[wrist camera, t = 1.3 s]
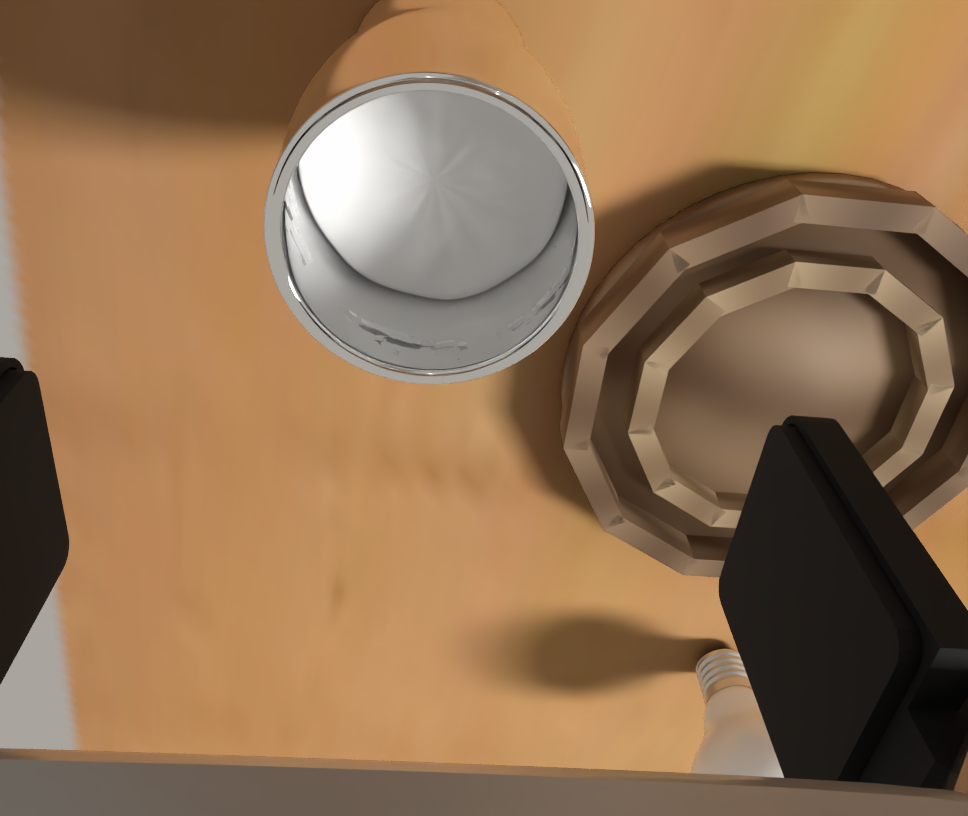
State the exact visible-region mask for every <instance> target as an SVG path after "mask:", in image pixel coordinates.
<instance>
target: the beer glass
mask: <svg viewBox="0 0 968 816" xmlns="http://www.w3.org/2000/svg"><path fill="white" fill-rule="evenodd" d="M264 239H265V247H266V252H267V257H268V262H269V266H270V269H271V272H272V275H273V277H274V280H275V283H276V285H277V287H278V289H279V291H280V294H281V295H282V297H283V299H284V301H285V303H286V304H287V306H288V307H289V309H290V310H291V312H292V313H293V315H294V316H295V317H296V319H297V320H298V321H299V322H300V324H301V325H302V326H303V327H304V328H305V329H306V330H307V331H308V332H309V333H310V334H311V336H313V337H314V338H315V339H316V340H317V341H318V342H319V343H320V344H321V345H323V346H324V347H325V348H327V349H328V350H329V351H330V352H332V353H333V354H335V355H336V356H338V357H339V358H341V359H343V360H344V361H346V362H348V363H350V364H352V365H353V366H355V367H358V368H360V369H362V370H364V371H366V372H369V373H372V374H374V375H377V376H380V377H384V378H387V379H391V380H395V381H400V382H406V383H414V384H429V385H436V384H452V383H460V382H465V381H470V380H475V379H479V378H482V377H485V376H488V375H491V374H494V373H497V372H499V371H501V370H504V369H506V368H508V367H510V366H512V365H514V364H516V363H517V362H519V361H521V360H522V359H524V358H525V357H527V356H529V355H530V354H531V353H533V352H534V351H535V350H537V349H538V348H539V347H540V346H542V345H543V344H544V343H545V342H546V341H547V340H548V339H549V338H550V337H551V336H552V335H553V334H554V333H555V332H556V331H557V330H558V329H559V328H560V326H561V325H562V324H563V323H564V321H565V320H566V319H567V317H568V316H569V314H570V313H571V311H572V310H573V308H574V307H575V305H576V303H577V301H578V299H579V297H580V295H581V293H582V291H583V289H584V286H585V284H586V281H587V278H588V275H589V271H590V268H591V263H592V259H593V253H594V245H595V218H594V209H593V203H592V198H591V194H590V190H589V187H588V182H587V175H586V169H585V164H584V158H583V153H582V149H581V145H580V142H579V138H578V135H577V132H576V128H575V125H574V122H573V119H572V116H571V114H570V111H569V109H568V107H567V105H566V103H565V101H564V99H563V97H562V95H561V93H560V92H559V90H558V88H557V87H556V85H555V83H554V81H553V80H552V78H551V76H550V75H549V73H548V72H547V71H546V69H545V68H544V67H543V65H542V64H541V63H540V62H539V60H538V59H537V58H536V57H535V56H534V55H533V54H532V53H531V52H530V51H529V50H528V49H527V48H526V46H525V42H524V39H523V37H522V34H521V32H520V30H519V28H518V26H517V25H516V23H515V21H514V20H513V18H512V17H511V15H510V14H509V13H508V12H507V10H506V9H505V8H504V7H503V6H502V5H501V4H500V3H499V2H498V1H497V0H379V1H378V2H377V3H376V4H375V5H374V6H373V7H372V8H371V9H370V11H369V12H368V13H367V15H366V16H365V18H364V20H363V21H362V23H361V25H360V27H359V29H358V31H357V34H355V35H354V36H352V37H351V38H350V39H348V40H347V41H346V42H344V43H343V44H342V45H341V46H340V47H339V48H338V49H337V50H336V51H335V52H334V53H333V54H332V55H331V56H330V57H329V58H328V59H327V61H326V62H325V63H324V64H323V66H322V67H321V68H320V70H319V71H318V72H317V73H316V75H315V76H314V77H313V79H312V80H311V82H310V83H309V85H308V86H307V88H306V89H305V91H304V93H303V95H302V97H301V99H300V101H299V103H298V105H297V107H296V109H295V112H294V114H293V116H292V118H291V121H290V123H289V126H288V128H287V131H286V134H285V137H284V141H283V144H282V148H281V151H280V155H279V158H278V162H277V164H276V167H275V169H274V172H273V174H272V177H271V180H270V184H269V187H268V192H267V196H266V202H265V210H264Z"/></svg>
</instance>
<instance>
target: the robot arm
mask: <svg viewBox="0 0 968 816" xmlns="http://www.w3.org/2000/svg"><path fill="white" fill-rule="evenodd" d="M68 551H69V536H68V531H67V525H66V520H65V515H64V510H63V505H62V500H61V494H60V489H59V484H58V479H57V474H56V469H55V463H54V458H53V453H52V448H51V443H50V437H49V432H48V427H47V422H46V417H45V412H44V406H43V401H42V396H41V391H40V386H39V382H38V378H37V376H36V375H35V373H33V372H32V371H24V369H23V366H22V365H21V363H20V361H18V360H17V359H15V358H4V357H0V684H1V682H2V680H3V679H4V677H5V675H6V673H7V671H8V669H9V667H10V666H11V664H12V662H13V660H14V658H15V656H16V655H17V653H18V651H19V649H20V647H21V646H22V644H23V642H24V640H25V638H26V636H27V634H28V633H29V631H30V628H31V627H32V625H33V623H34V622H35V620H36V618H37V616H38V614H39V612H40V610H41V609H42V607H43V605H44V603H45V601H46V599H47V598H48V596H49V594H50V592H51V590H52V588H53V587H54V585H55V583H56V581H57V579H58V577H59V575H60V574H61V572H62V570H63V568H64V566H65V563H66V560H67V557H68ZM719 597H720V601H721V605H722V607H723V610H724V613H725V616H726V618H727V621H728V624H729V627H730V630H731V632H732V635H733V638H734V641H735V643H736V646H737V649H738V652H739V654H740V657H741V660H742V663H743V665H744V668H745V671H746V674H747V676H748V679H749V682H750V685H751V687H752V690H753V693H754V696H755V698H756V701H757V704H758V707H759V710H760V712H761V715H762V718H763V721H764V723H765V726H766V729H767V732H768V734H769V737H770V740H771V743H772V745H773V748H774V751H775V754H776V756H777V759H778V762H779V765H780V767H781V770H782V773H783V776H784V778H778V777H761V776H745V775H721V774H698V773H675V772H651V771H628V770H604V769H581V768H558V767H534V766H508V765H482V764H456V763H430V762H403V761H376V760H348V759H321V758H293V757H266V756H235V755H204V754H172V753H141V752H109V751H78V750H46V749H4V748H3V749H1V748H0V816H968V610H967V609H966V607H965V606H964V605H963V603H962V602H961V600H960V599H959V597H958V596H957V594H956V593H955V591H954V590H953V589H952V587H951V586H950V584H949V583H948V581H947V580H946V578H945V577H944V575H943V574H942V573H941V571H940V570H939V568H938V567H937V565H936V564H935V562H934V561H933V559H932V558H931V556H930V555H929V554H928V552H927V551H926V549H925V548H924V546H923V545H922V543H921V542H920V540H919V539H918V538H917V536H916V535H915V533H914V532H913V530H912V529H911V527H910V526H909V524H908V523H907V521H906V520H905V519H904V517H903V516H902V514H901V513H900V511H899V510H898V508H897V507H896V505H895V504H894V503H893V501H892V500H891V498H890V497H889V495H888V494H887V492H886V491H885V489H884V488H883V486H882V485H881V484H880V482H879V481H878V479H877V478H876V476H875V475H874V473H873V472H872V470H871V469H870V468H869V466H868V465H867V463H866V462H865V460H864V459H863V457H862V456H861V454H860V453H859V451H858V450H857V449H856V447H855V446H854V444H853V443H852V441H851V440H850V438H849V437H848V435H847V434H846V433H845V431H844V430H843V428H842V427H841V425H840V424H839V423H838V422H837V421H836V420H835V419H832V418H822V417H809V416H795V415H791V416H789V417H787V418H786V419H785V421H784V422H783V424H782V425H774V426H772V428H771V429H770V430H769V433H768V435H767V438H766V440H765V443H764V446H763V449H762V452H761V455H760V458H759V461H758V464H757V467H756V470H755V473H754V476H753V479H752V482H751V485H750V488H749V491H748V494H747V497H746V500H745V503H744V506H743V509H742V512H741V515H740V518H739V521H738V524H737V527H736V530H735V533H734V536H733V539H732V542H731V544H730V547H729V550H728V553H727V556H726V559H725V562H724V565H723V568H722V571H721V575H720V579H719Z"/></svg>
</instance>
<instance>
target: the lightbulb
mask: <svg viewBox="0 0 968 816" xmlns="http://www.w3.org/2000/svg"><path fill="white" fill-rule="evenodd" d="M696 673H697V677H698V680H699V684H700V686H701V691H702V693H703V698H704V702H705V705H706V707H705V711H704V737H703V739H702V741H701V744H700V746H699V748H698V750H697V753H696V755H695V758H694V761H693V764H692V769H691V773H698V774H721V775H745V776H761V777H778V778H784V776H783V773H782V770H781V767H780V765H779V762H778V759H777V756H776V754H775V751H774V748H773V745H772V743H771V740H770V737H769V734H768V732H767V729H766V726H765V723H764V721H763V718H762V715H761V712H760V710H759V707H758V704H757V701H756V698H755V696H754V693H753V690H752V687H751V685H750V682H749V679H748V676H747V674H746V671H745V668H744V665H743V663H742V660H741V657H740V654H739V652H738V651H736V650H732V649H718V650H714V651H712V652H709V653H707V654H706V655H704V656H703V657H702V658H701V659H700V660H699V661H698V663H697V665H696Z"/></svg>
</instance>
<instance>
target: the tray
mask: <svg viewBox="0 0 968 816" xmlns="http://www.w3.org/2000/svg"><path fill="white" fill-rule="evenodd" d="M561 401H562V415H561V421H560V426H559V427H560V433H561V438H562V444H563V449H564V451H565V453H566V455H567V457H568V459H569V461H570V463H571V465H572V467H573V469H574V471H575V473H576V475H577V477H578V479H579V481H580V483H581V485H582V488H583V490H584V492H585V494H586V496H587V498H588V500H589V502H590V504H591V506H592V508H593V510H594V512H595V514H596V516H597V518H598V520H599V522H600V524H601V526H602V528H603V530H605V531H607V532H608V533H610V534H612V535H614V536H615V537H617V538H619V539H621V540H622V541H624V542H626V543H628V544H629V545H631V546H633V547H635V548H636V549H638V550H640V551H642V552H643V553H645V554H647V555H649V556H651V557H652V558H654V559H656V560H658V561H659V562H661V563H663V564H665V565H666V566H668V567H670V568H672V569H673V570H675V571H677V572H679V573H680V574H682V575H690V576H707V577H720V575H721V571H722V568H723V565H724V562H725V559H726V556H727V553H728V550H729V547H730V544H731V542H732V539H733V536H734V533H735V530H736V527H737V524H738V521H739V518H740V515H741V512H742V509H743V506H744V503H745V500H746V497H747V494H748V491H749V488H750V485H751V482H752V479H753V476H754V473H755V470H756V467H757V464H758V461H759V458H760V455H761V452H762V449H763V446H764V443H765V440H766V438H767V435H768V433H769V430H770V429H771V428H772V426H774V425H782V424H783V422H784V421H785V419H786V418H787V417H789V416H791V415H795V416H809V417H822V418H832V419H835V420H836V421H837V422H838V423H839V424H840V425H841V427H842V428H843V430H844V431H845V433H846V434H847V435H848V437H849V438H850V440H851V441H852V443H853V444H854V446H855V447H856V449H857V450H858V451H859V453H860V454H861V456H862V457H863V459H864V460H865V462H866V463H867V465H868V466H869V468H870V469H871V470H872V472H873V473H874V475H875V476H876V478H877V479H878V481H879V482H880V484H881V485H882V486H883V488H884V489H885V491H886V492H887V494H888V495H889V497H890V498H891V500H892V501H893V503H894V504H895V505H896V507H897V508H898V510H899V511H900V513H901V514H902V516H903V517H904V519H905V520H906V521H907V523H908V524H909V526H910V527H911V529H912V530H913V529H914V528H916V527H917V526H918V525H920V524H921V523H922V522H923V521H925V520H926V519H927V518H928V517H930V516H931V515H932V514H934V513H935V512H936V511H937V510H939V509H940V508H941V507H942V506H944V505H945V504H946V503H948V502H949V501H950V500H951V499H953V498H954V497H955V496H957V495H958V494H959V493H960V492H962V491H963V490H964V489H965V488H967V487H968V235H967V234H966V233H965V232H964V231H963V230H962V229H961V228H960V227H959V226H958V225H957V224H955V223H954V222H953V221H951V220H950V219H949V218H948V217H946V216H945V215H944V214H943V213H942V212H941V211H939V210H938V209H937V208H936V207H935V206H934V205H933V204H931V203H930V202H929V201H927V200H926V199H925V198H923V197H922V196H921V195H919V194H918V193H917V192H915V191H905V190H903V189H901V188H899V187H896V186H893V185H890V184H887V183H884V182H881V181H878V180H874V179H871V178H865V177H859V176H853V175H847V174H835V173H803V174H793V175H783V176H776V177H772V178H767V179H763V180H758V181H754V182H749V183H745V184H743V185H740V186H737V187H734V188H731V189H728V190H725V191H723V192H720V193H717V194H714V195H712V196H710V197H708V198H706V199H704V200H702V201H700V202H698V203H696V204H694V205H692V206H690V207H688V208H686V209H684V210H682V211H681V212H679V213H678V214H676V215H675V216H673V217H671V218H670V219H668V220H667V221H665V222H664V223H662V224H660V225H659V226H658V227H656V228H655V229H654V230H653V231H651V232H650V233H649V234H648V235H646V236H645V237H644V238H643V239H641V240H640V241H639V242H638V243H637V244H635V245H634V246H633V247H632V248H631V249H630V250H629V251H628V252H627V253H626V254H625V255H624V256H623V257H622V258H621V259H620V260H619V261H618V262H617V263H616V264H615V265H614V266H613V268H612V269H611V270H610V271H609V273H608V274H607V275H606V277H605V278H604V279H603V280H602V282H601V283H600V284H599V286H598V287H597V288H596V290H595V291H594V293H593V294H592V296H591V298H590V299H589V301H588V303H587V305H586V306H585V308H584V310H583V312H582V313H581V315H580V317H579V319H578V322H577V324H576V327H575V329H574V332H573V334H572V336H571V339H570V342H569V346H568V349H567V353H566V357H565V361H564V365H563V374H562V384H561Z"/></svg>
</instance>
